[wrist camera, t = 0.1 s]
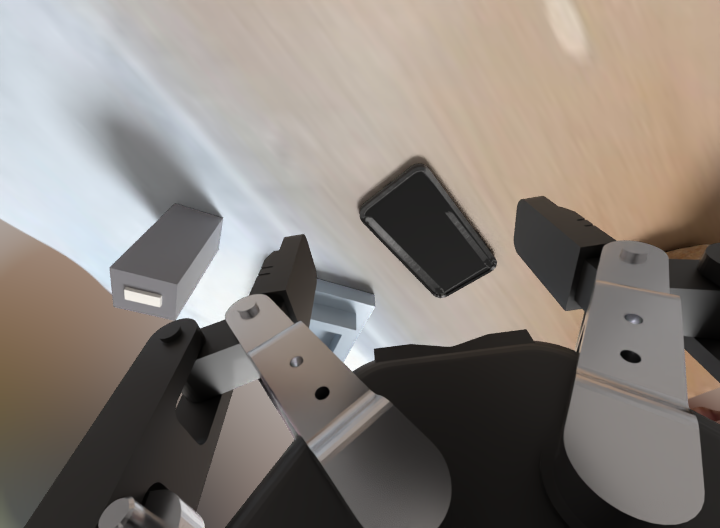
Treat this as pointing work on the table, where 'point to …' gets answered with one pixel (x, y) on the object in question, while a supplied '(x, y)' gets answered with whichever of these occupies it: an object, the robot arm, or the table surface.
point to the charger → (166, 263)
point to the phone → (427, 232)
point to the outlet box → (339, 315)
